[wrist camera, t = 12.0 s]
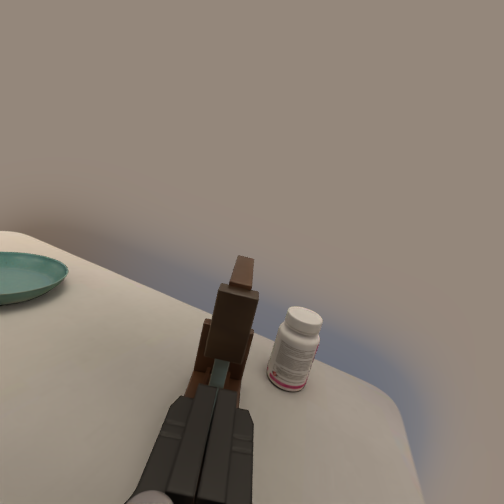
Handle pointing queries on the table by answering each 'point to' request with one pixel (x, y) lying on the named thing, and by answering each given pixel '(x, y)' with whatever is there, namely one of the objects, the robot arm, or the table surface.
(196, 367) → the window frame
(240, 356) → the window pane
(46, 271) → the saucer
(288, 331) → the pill bottle
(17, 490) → the table surface
